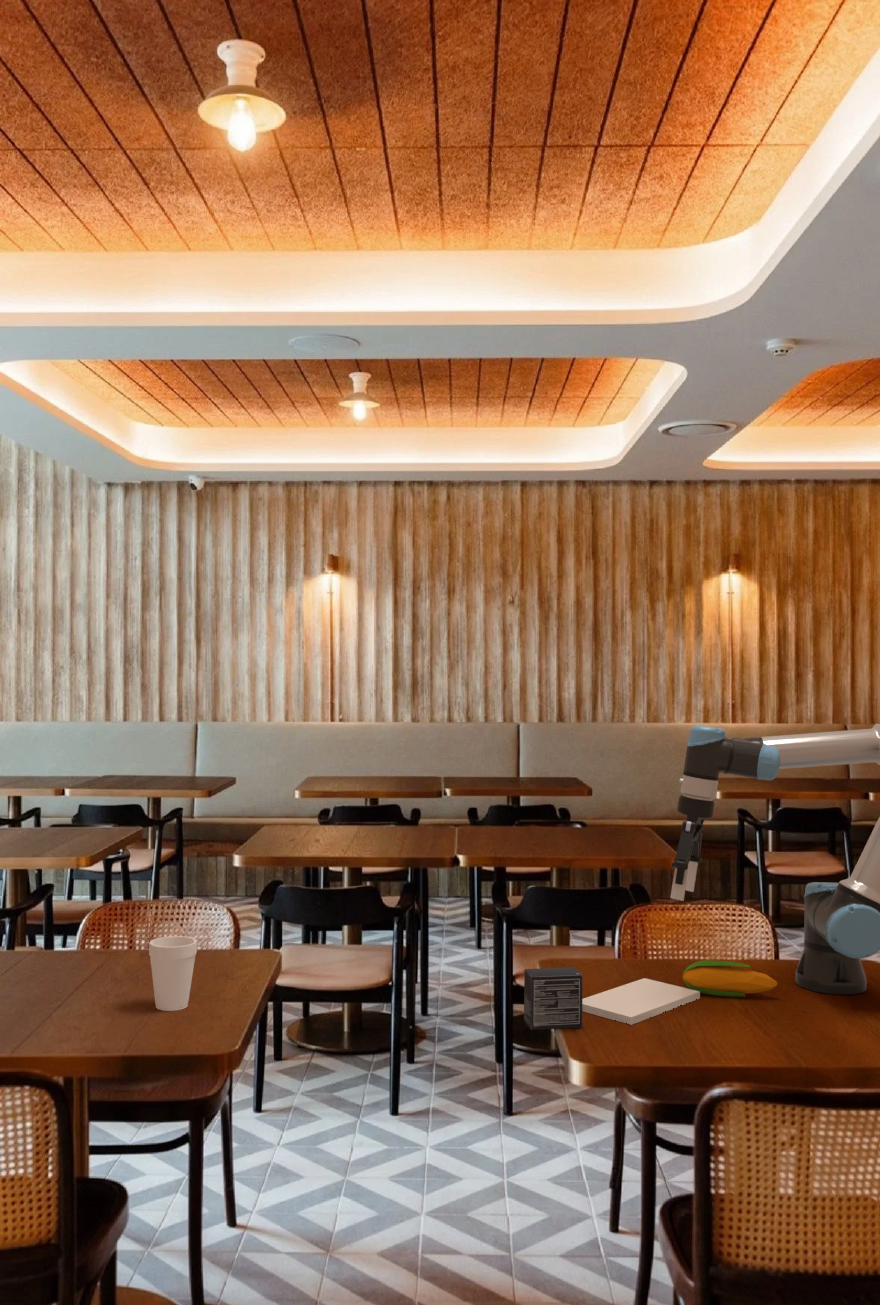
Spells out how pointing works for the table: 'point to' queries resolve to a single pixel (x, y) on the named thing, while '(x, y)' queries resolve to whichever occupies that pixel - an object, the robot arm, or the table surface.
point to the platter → (638, 1000)
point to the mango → (725, 979)
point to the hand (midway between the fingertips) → (682, 895)
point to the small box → (553, 998)
